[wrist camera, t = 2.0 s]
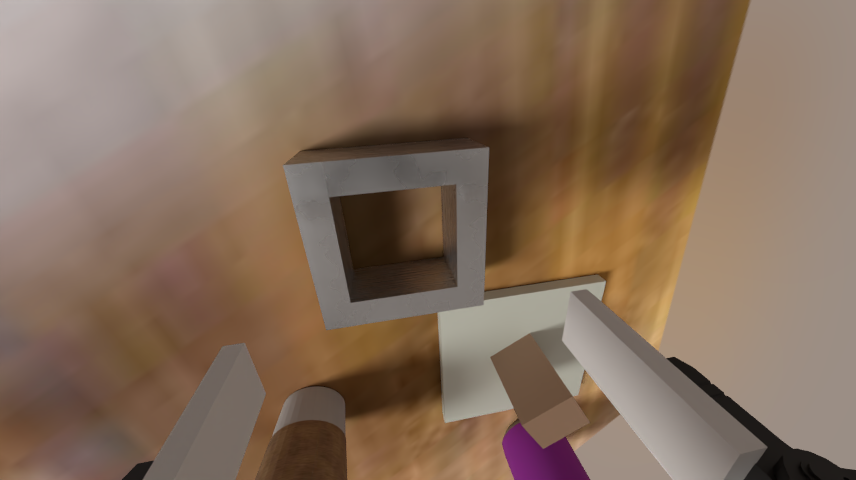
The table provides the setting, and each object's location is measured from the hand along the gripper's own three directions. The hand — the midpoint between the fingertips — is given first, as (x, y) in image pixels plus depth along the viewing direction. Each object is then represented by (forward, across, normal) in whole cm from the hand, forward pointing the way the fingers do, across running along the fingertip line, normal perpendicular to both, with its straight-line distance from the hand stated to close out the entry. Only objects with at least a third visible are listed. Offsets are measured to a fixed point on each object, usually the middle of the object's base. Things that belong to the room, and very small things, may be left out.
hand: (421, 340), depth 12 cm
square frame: (+12, 0, 0) cm, 13 cm away
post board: (+13, +11, -16) cm, 23 cm away
